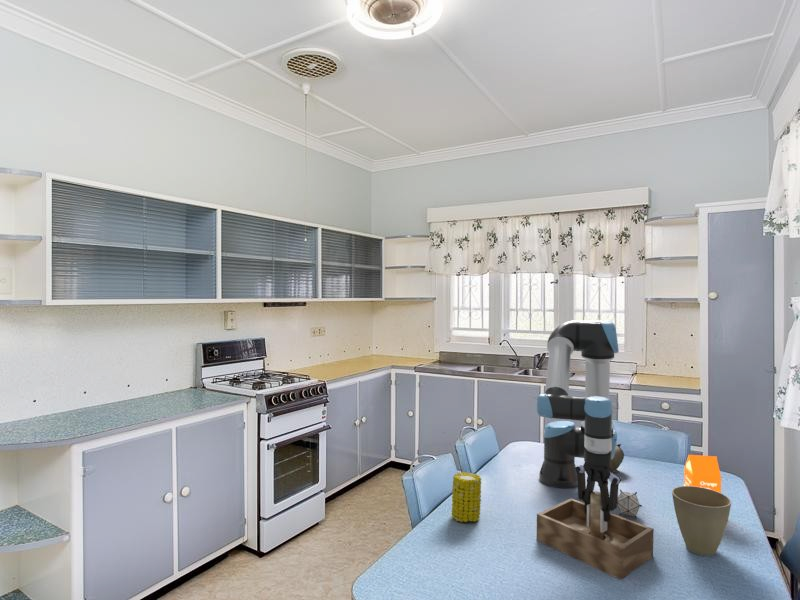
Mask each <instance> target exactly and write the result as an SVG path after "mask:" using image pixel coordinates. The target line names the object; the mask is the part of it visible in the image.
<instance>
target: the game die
mask: <svg viewBox="0 0 800 600" xmlns="http://www.w3.org/2000/svg"><path fill="white" fill-rule="evenodd" d="M619 492H620V493H619V494H618V500H617V508H618V510H619V515H618V516H620V517H621V516H622V515H626V516H633V517H634V518H635V519H638V517H637V513H638V512H639V509H640V508H641V507H643V505H642V504H640V502H639V499H638V497H637V493H638V492H637V491H635V492H634V493H632V492H626V491H622V489H619Z"/></svg>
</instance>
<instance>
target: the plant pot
mask: <svg viewBox="0 0 800 600" xmlns="http://www.w3.org/2000/svg"><path fill="white" fill-rule="evenodd" d="M671 494H672V495H671V496H672V501H673V502H672V503H673V507H674V512H675V516H676V520H677V524H678V526H679V530H680V534H681V536H682V538H683V542H684V543H685V547H686V548H687V550H689V551H690V552H692V553H695V554H696V555H700V556H708V557H709V556H710V557H711V556H714V555H715V554H716V553H717V551H718V549H719V547H720V545H721V542H722V539H723V537H724V534H725V531H726V528H727V524H728V522H729V517H730V511H731V506H732V500H731V498H729V497H728V496H727V495H726V494H724V493H722V492H721V493H720V492H717V491H714V490H711V489H707V488H702V487H696V486H684V485H681V486H680V485H679V486H676V487H673V488H672V490H671Z"/></svg>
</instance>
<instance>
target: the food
mask: <svg viewBox="0 0 800 600" xmlns="http://www.w3.org/2000/svg"><path fill="white" fill-rule="evenodd" d="M452 479H453V480H452V490H451V491H452V496H451V498H452V500H451V502H452V503H451V516H452V518H453V519H454V520H455V521H456V522H460V523H463V522H464V523H468V522H475V523H476V521H479V519H480V518H481V517H480V515H481V503H482V498H481V497H482V495H481V494H482V477H481V476H480V475H479V474H477V473H473V472H470V473H469V472H465V471H461V472H460V471H459V472H457V473H455V474H454V475H453V476H452Z"/></svg>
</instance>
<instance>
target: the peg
mask: <svg viewBox="0 0 800 600" xmlns="http://www.w3.org/2000/svg"><path fill="white" fill-rule="evenodd" d="M601 509H603V506H602V500H601V493H600V491H593V492H591V505H590V534H591V535H593V536H595V537H598V538H600V539H602V540H603V533H601V532H600V510H601Z"/></svg>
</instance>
